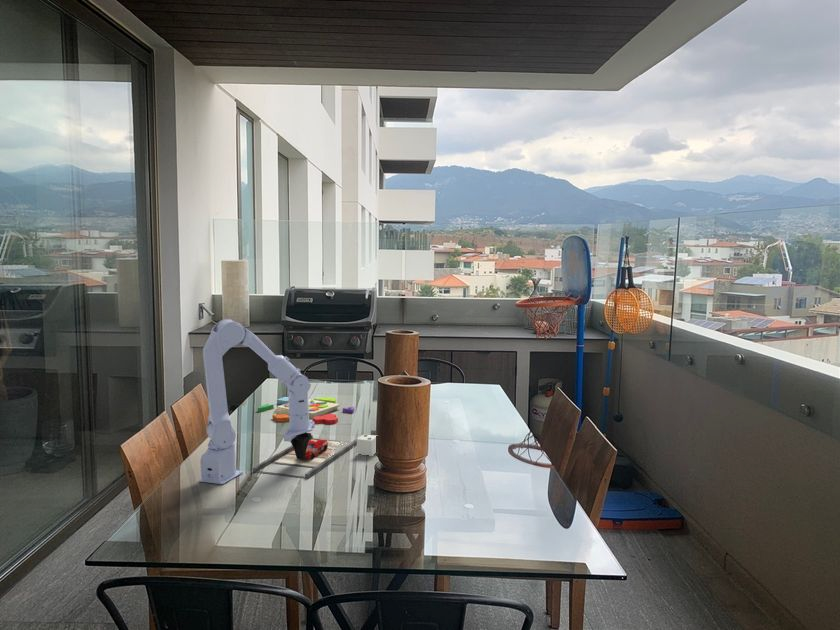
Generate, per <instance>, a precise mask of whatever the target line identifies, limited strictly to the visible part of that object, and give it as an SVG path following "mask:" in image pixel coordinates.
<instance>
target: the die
mask: <svg viewBox="0 0 840 630" xmlns="http://www.w3.org/2000/svg"><path fill="white" fill-rule="evenodd" d="M376 436H377V435H374V434H373V435H372V434H362V435H360V436H359V437H358V438H356V439H357V445H356V455H357V454H362V455H369V456H368V457H373V456H375V455H376V454H377V453H376ZM375 453H376V454H375ZM374 454H375V455H374ZM362 455H361V456H362Z"/></svg>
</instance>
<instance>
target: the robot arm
mask: <svg viewBox="0 0 840 630" xmlns="http://www.w3.org/2000/svg"><path fill="white" fill-rule="evenodd" d="M238 344H239V345H241V346H245V347H248V348H250V349H251V350H252V351H253V352H255V353H256V354H257V355H258V356H259V357H260V358H261V359H262V360H264V361H265V362H266V363H267V370H268V372H270V373H271V374H272V375H273V376H274V377H276V378H277V379H278V380H279V381H280V383H282V384H284V385H285V388H286V389H288V397H289V415H288V416H289V422H288V423H289V424H288V425H289V428H288V429H287V431H286V432H285V433H284V434H283V442H290V443H291V446H293V448H294V450H293V451H295V454H296V457H297V458H298V459H303V458H305V454H306V449H307V445H308V442H309V440H310V438H311V435H312V433H311V432H312V431H314V430H313V429H314V428H315V426H316V423H314V422H313V421H312V420H311V421H310V418H309V407H308V399H309V391H310V388H311V386H312V385H311V384H312V383H310V379H309V378H308V377H307V376H306V375H304V374H302V373H301V369H300V368H299V367H297V368H296V366H294V365H293V364H292V363H291V361H290V360H291V359H290V358H289V357H288V356H284V355H282V354H280V355H276V354H275V353H274V352H273V351H272V350H271V349H270V348H269V347H268V346H267V345H266V344H265V343H264V342H263V340H261V339H260V338H259V337H258V336H257V335H256V334H254V333H253V332H252V331H250V330H249V329H248V328H247V327H244V326H243V325H242V324H241V323H240V322H237V321H234V320H233V319H230V318H223V319H221V320H220V321H218V322H217V323H216V324H214V326H213V327H211V331H210V334H209V337H208V338H207V340H206V342H205V344H204V346H203V348H202V357H203V358H202V359H203V365H204V367H203V368H204V376H205V384H206V393H207V395H206V396H207V403H208V411H209V413H208V416H207V417H208V422H207V425H206V431H205V432H206V435H207V437H208V438H209V439H210V440H209V441H208V444H207V449H206V451H205V452H204V453H202V455H201V457H200V476H201V477H200V478H199V479H198V482H201V483H210V484H216V485H217V484H218V485H224V484H226V483H227V482H230V481H231V480H234V479H235V478H236V477H238V476H240V475H241V474H243V473H244V471H243V470H238V469H237V461H236V460H237V459H236V458H237V457H236V443H235V441H236V436H237V435H236V431H235V429H234V428H233V427H232V421H231V417H230V414H229V410H228V408H229V407H228V402H227V401H228V400H227V390H226V381H225V372H224V362H223V356H224V355H225V354H226V353H227V352H228V351H229V350H230V349H231V348H233V347H235V346H237V345H238Z"/></svg>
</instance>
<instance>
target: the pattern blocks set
mask: <svg viewBox="0 0 840 630" xmlns="http://www.w3.org/2000/svg"><path fill="white" fill-rule="evenodd" d="M276 404H278V406H277V407H275V409H274V404H273V403H272V404H269V403H266V404H263V405H260V406H258V407H257V413H263V412H267V411H270V410H274V411H273V414H272V419H273V420H274V421H275V422H276V423H285V422H288V423H289V396H283V397H280V398H277V399H276ZM340 406H341V404H339V403H337V399H336V397H329V396H328V397H327V396H324V397H317V398H314V399H310V398H308V407H309V419H312V420H311V421H312V422H314V423H315V425H319V424H325V425H334V424H335V425H336V424H338V422H339V417H337V414H335V413H331V412H333V411H335V410H337V409H338V408H339V407H340ZM354 412H355V406H349V407H348V406H347V407H343V408H342V413H346V414H354Z"/></svg>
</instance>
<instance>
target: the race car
mask: <svg viewBox="0 0 840 630" xmlns="http://www.w3.org/2000/svg"><path fill="white" fill-rule="evenodd" d="M327 440H328V439H326V438H325V439H324V438H314V439H311V440H309V442H308V445H307V449H306V454H305V458H303V459H313V458H314V456H316V455H318V454H320V453H321V452H323V451H326V449H327V448H328V443H327Z"/></svg>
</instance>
